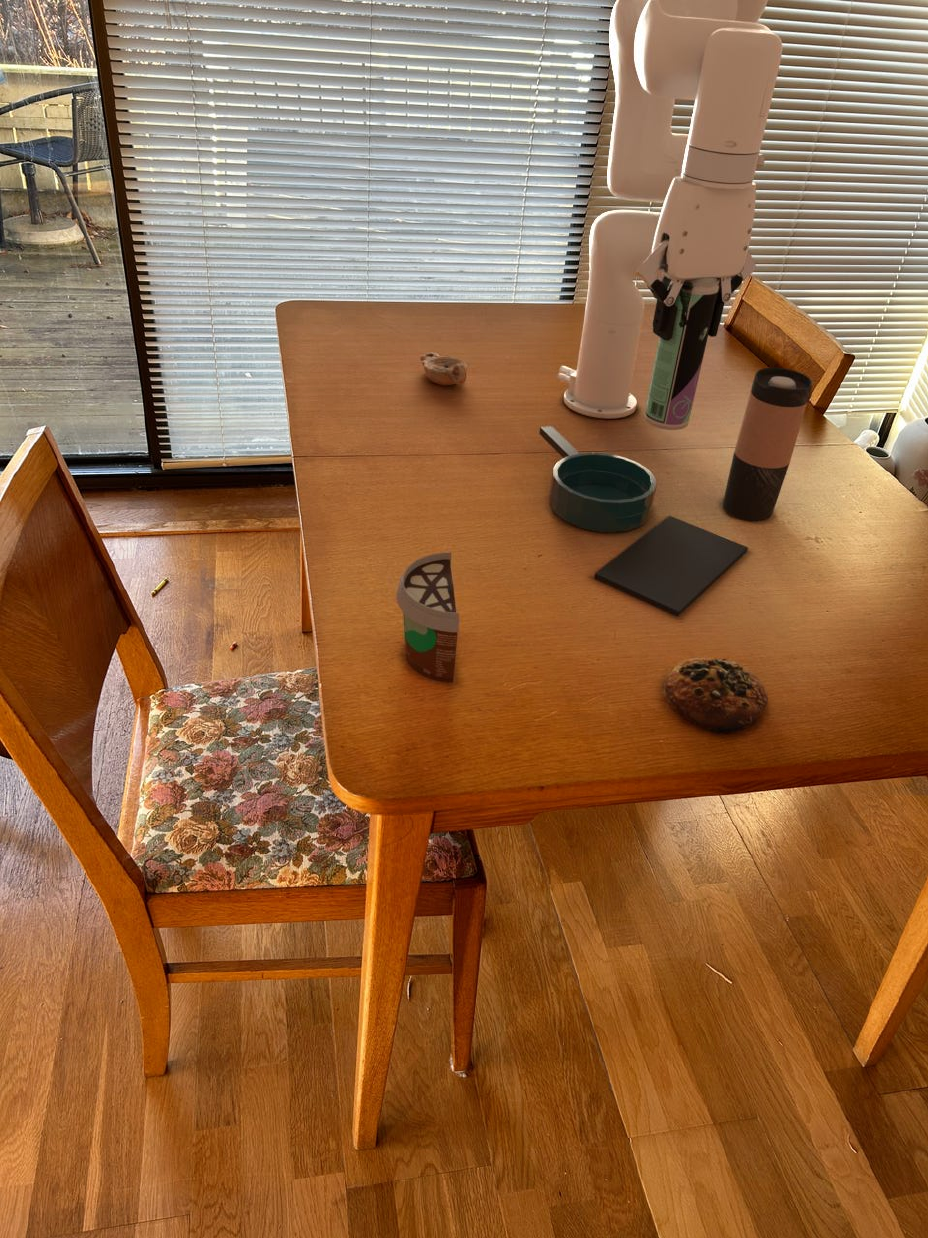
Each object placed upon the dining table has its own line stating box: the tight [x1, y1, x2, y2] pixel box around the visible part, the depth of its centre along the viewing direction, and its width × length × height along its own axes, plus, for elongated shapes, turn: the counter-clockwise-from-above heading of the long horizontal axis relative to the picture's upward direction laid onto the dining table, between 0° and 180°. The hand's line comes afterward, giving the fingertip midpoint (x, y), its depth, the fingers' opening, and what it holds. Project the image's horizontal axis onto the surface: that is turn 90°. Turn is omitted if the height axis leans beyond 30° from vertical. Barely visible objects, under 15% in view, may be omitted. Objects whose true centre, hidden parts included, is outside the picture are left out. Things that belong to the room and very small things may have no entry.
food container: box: [395, 552, 460, 683], centre depth 101 cm, size 12×6×10 cm, turn 5°
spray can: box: [644, 278, 720, 431], centre depth 110 cm, size 6×6×20 cm
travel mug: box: [722, 367, 813, 523], centre depth 129 cm, size 8×8×20 cm
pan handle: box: [538, 425, 581, 459], centre depth 140 cm, size 12×2×1 cm, turn 22°
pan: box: [548, 452, 658, 533], centre depth 131 cm, size 14×14×5 cm
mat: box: [593, 515, 749, 618], centre depth 122 cm, size 12×20×1 cm, turn 142°
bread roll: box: [662, 657, 769, 735], centre depth 100 cm, size 11×11×5 cm
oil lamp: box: [419, 352, 468, 386], centre depth 164 cm, size 13×8×5 cm, turn 27°
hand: (684, 332), depth 109 cm, fingers closed on spray can, 5 cm apart
